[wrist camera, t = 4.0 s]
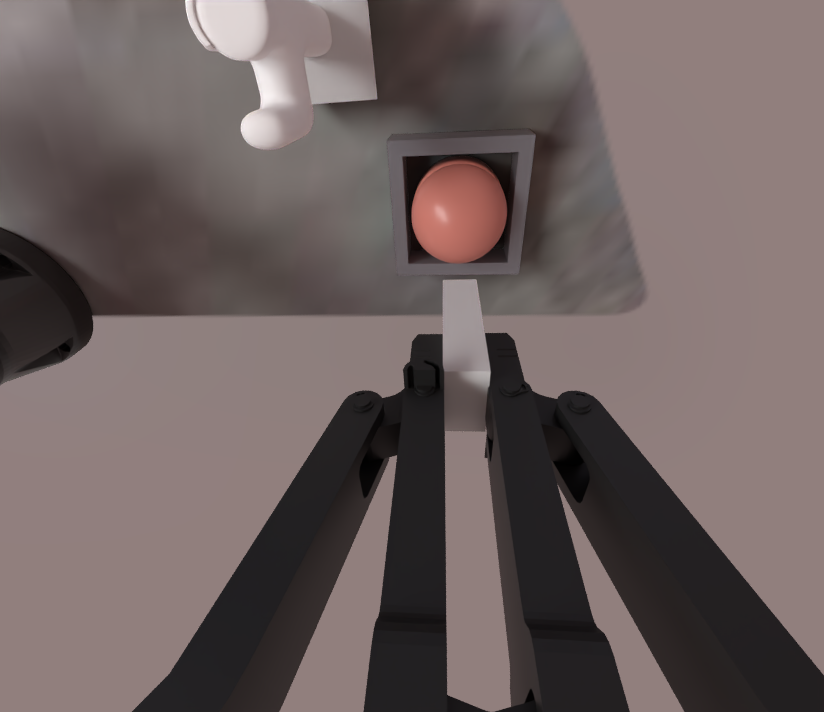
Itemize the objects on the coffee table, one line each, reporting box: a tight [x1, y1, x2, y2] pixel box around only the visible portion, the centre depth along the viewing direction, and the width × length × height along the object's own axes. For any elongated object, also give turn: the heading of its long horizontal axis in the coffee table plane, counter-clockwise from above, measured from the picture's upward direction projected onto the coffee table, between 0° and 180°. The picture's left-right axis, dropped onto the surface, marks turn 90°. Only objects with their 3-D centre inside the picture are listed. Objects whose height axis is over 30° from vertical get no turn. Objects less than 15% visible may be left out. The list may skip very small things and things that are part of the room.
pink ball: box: [412, 155, 507, 264], centre depth 29 cm, size 7×7×7 cm
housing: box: [387, 129, 536, 275], centre depth 31 cm, size 10×10×3 cm
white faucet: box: [185, 0, 377, 150], centre depth 20 cm, size 7×9×15 cm
